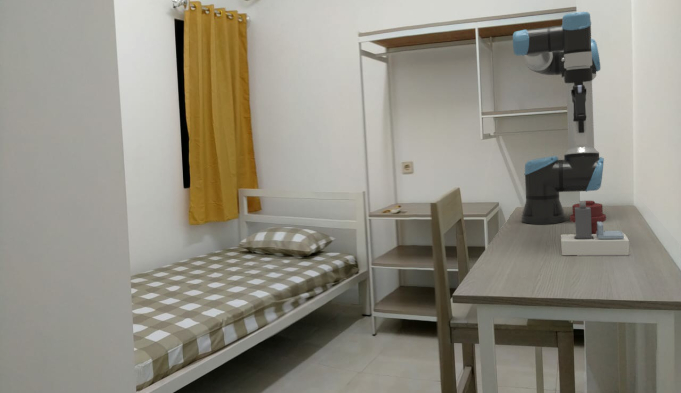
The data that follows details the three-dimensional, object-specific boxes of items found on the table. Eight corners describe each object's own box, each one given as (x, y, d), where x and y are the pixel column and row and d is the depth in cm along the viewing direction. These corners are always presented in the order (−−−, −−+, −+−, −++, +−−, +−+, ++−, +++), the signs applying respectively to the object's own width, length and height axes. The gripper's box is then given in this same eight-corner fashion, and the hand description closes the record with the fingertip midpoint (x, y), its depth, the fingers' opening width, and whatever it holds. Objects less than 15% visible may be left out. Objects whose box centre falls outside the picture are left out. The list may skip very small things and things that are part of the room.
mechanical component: (602, 238, 189) (610, 244, 180) (568, 239, 191) (573, 246, 182) (601, 198, 188) (608, 202, 178) (566, 200, 190) (572, 204, 180)
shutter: (596, 233, 175) (596, 221, 175) (621, 233, 173) (620, 220, 173) (598, 238, 169) (597, 225, 168) (623, 238, 167) (623, 225, 166)
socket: (561, 248, 180) (560, 234, 180) (625, 247, 175) (624, 233, 174) (561, 255, 171) (561, 241, 171) (629, 255, 165) (628, 240, 165)
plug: (576, 248, 176) (574, 200, 175) (591, 248, 175) (589, 199, 173) (576, 252, 173) (575, 202, 171) (592, 251, 171) (590, 201, 170)
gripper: (563, 71, 190) (565, 140, 193) (564, 68, 166) (567, 147, 169) (589, 68, 187) (591, 138, 190) (595, 65, 164) (597, 145, 167)
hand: (580, 142), depth 180 cm, fingers open, 13 cm apart
